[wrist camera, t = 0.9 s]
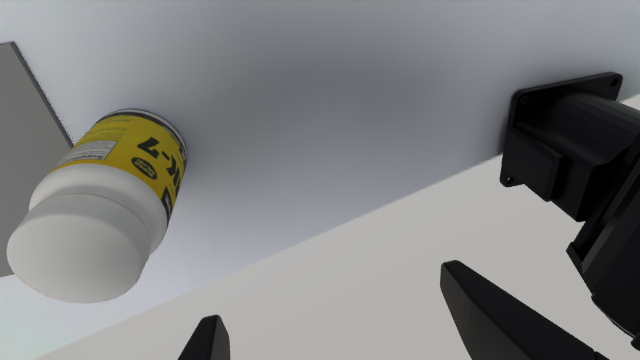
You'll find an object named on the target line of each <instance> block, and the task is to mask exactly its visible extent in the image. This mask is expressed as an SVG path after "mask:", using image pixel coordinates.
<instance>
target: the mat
mask: <svg viewBox="0 0 640 360" xmlns="http://www.w3.org/2000/svg"><path fill="white" fill-rule="evenodd" d="M72 148H73V145H72V143H71V141H70V140H69V138H68V136H67V135H66V133H65V131H64V129H63V128H62V126H61V124H60V122H59V121H58V119H57V117H56V115H55V114H54V112H53V110H52V108H51V107H50V105H49V103H48V101H47V100H46V98H45V96H44V94H43V93H42V91H41V89H40V87H39V86H38V84H37V82H36V80H35V79H34V77H33V75H32V74H31V72H30V70H29V68H28V67H27V65H26V63H25V61H24V60H23V58H22V56H21V54H20V53H19V51H18V49H17V47H16V46H15V44H14V42H9V43H4V44H0V277H3V276H8V275H13V274H15V273H14V272H13V271H12V269H11V267H10V265H9V263H8V259H7V245H8V241H9V239H10V237H11V235H12V233H13V232H14V231H15V230H16V228H17V227H18V226H19V225H20V223H21V222H22V221H23V219H24V218H25V216H26V215H27V214H28V212H29V204H30V200H31V197H32V194H33V192H34V190H35V189H36V187H37V186H38V184H39V183H40V182H41V181H42V179H43V178H44V177H45V176H46V175H47V174H48V173H49V172H50V171H51V170H52V169H53V168H54V167H55V166H56V165H57V164H58V163H59V161H60V160H61V159H62V158H63V157H64V156H65V155H66V154H67V153H68V152H69V151H70V150H71V149H72Z"/></svg>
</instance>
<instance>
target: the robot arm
mask: <svg viewBox="0 0 640 360" xmlns="http://www.w3.org/2000/svg"><path fill="white" fill-rule="evenodd" d="M622 80H623V77H622V75H620V74H618V73H615V72H610V73H605V74H600V75H595V76H590V77H585V78H579V79H574V80H569V81H564V82H559V83H554V84H549V85H544V86H539V87H534V88H529V89H524V90H520V91H518V92H517V93H516V94H515V95H514V97H513V99H512V105H511V111H510V117H509V124H508V130H507V133H506V139H505V145H504V151H503V158H502V167H501V174H500V183H501V184H502V185H503V186H505V187H512V186H517V185H522V184H525V185H526V186H528V188H530V189H531V190H532V191H533V192H535V193H536V194H537V195H538V196H539V197H541V198H542V199H543V200H544V201H546V202H549V201H552V202H553V203H554V204H555V205H557V206H558V207H559V208H561V209H562V210H563V211H564V212H565V213H567V214H568V215H569V216H571V217H572V218H573V219H574V220H575V221H576V222H583V221H585V223H584V225H583V226H582V229H581V230H580V231H579V233H578V235H577V236H576V238H575V240H574V241H573V242H571V243H570V244H569V246H568V248H567V249H566V252H567V254H568V255H569V257H570V259H571V260H572V262H573V264H574V265H575V267H576V269H577V270H578V272H579V274H580V275H581V277H582V279H583V280H584V282H585V283H586V285H587V287H588V289H589V290H590V292H591V293H592V296H591V299H592V301H593V302H594V304H595V305H596V306H597V307H598V308H599V309H600V310H601V311H602V312H603V313H604V314H605V315H606V316H607V318H609V319H610V321H611V322H612V323H613V324H614V325H616V326H617V327H618V328H619V329H621V330H622V331H623V332H624V333H626V334H627V335H629V336H631V337H632V338H634V339H633V340H632V341H631V345H632V346H633V347H634V348H635V349H637V350H639V351H640V111H639V110H637V109H634V108H631V107H629V106H626V105H624V104H622V103H619V102H617V101H616V99H617V96H618V93H619V90H620V87H621V84H622ZM611 81H612V82H611ZM523 97H525V98H524V100H523V101H522V102H521V99H522V98H523ZM508 178H510V179H509V180H508ZM440 287H441V291H442V293H443V296H444V298H445V301H446V303H447V305H448V308H449V310H450V312H451V315H452V317H453V320H454V322H455V324H456V327H457V329H458V331H459V334H460V336H461V338H462V341H463V343H464V345H465V347H466V349H467V351H468V353H469V355H470V357H471V359H472V360H609V359H608V358H606V357H605V356H603V355H602V354H600V353H599V352H597V351H596V352H594V350H593V349H592V348H591V347H589V346H588V345H586V344H585V343H583V342H582V341H580V340H579V339H577V338H575V337H574V336H573V335H571V334H569V333H568V332H566V331H565V330H563V329H562V328H560V327H559V326H557V325H556V324H554V323H553V322H551V321H550V320H548V319H547V318H545V317H544V316H542V315H541V314H539V313H538V312H536V311H535V310H533V309H531V308H530V307H528V306H527V305H525V304H524V303H522V302H521V301H519V300H518V299H516V298H515V297H513V296H512V295H510V294H509V293H507V292H506V291H504V290H502V289H501V288H500V287H498V286H496V285H495V284H493V283H492V282H490V281H489V280H487V279H486V278H484V277H483V276H481V275H480V274H478V273H477V272H475V271H474V270H472V269H471V268H469V267H468V266H466V265H464V264H463V263H461V262H460V261H457V260H453V261H449V262H444V263H443V264H442V265H441V276H440ZM178 360H230V343H229V335H228V332H227V330H226V328H225V326H224V324H223V322H222V319H221V317H220V316H219V315H212V316H208V317H204V318H203V319H202V320H201V321H200V322H199V324H198V326H197V328H196V329H195V331H194V333H193V334H192V336H191V338H190V340H189V341H188V343H187V344H186V346H185V348H184V350H183V351H182V353H181V355H180V356H179V358H178Z"/></svg>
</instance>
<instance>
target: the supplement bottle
mask: <svg viewBox="0 0 640 360" xmlns="http://www.w3.org/2000/svg"><path fill="white" fill-rule="evenodd" d="M186 163H187V152H186V148H185V145H184V142H183V140H182V138H181V137H180V135H179V134H178V133H177V131H176V130H175V129H174V128H173V127H172V126H171V125H170V124H169V123H168V122H166V121H165V120H163V119H162V118H160V117H158V116H156V115H154V114H151V113H148V112H145V111H140V110H121V111H116V112H113V113H110V114H108V115H106V116H104V117H103V118H101V119H100V120H99V121H98V122H96V123H95V125H94V126H93V127H92V128H91V129H90V130H89V131H88V132H87V133H86V134H85V135H84V136H83V137H82V138H81V139H80V140H79V141H78V142H77V143H76V144H75V145H74V147H73V148H72V149H71V150H70V151H69V152H68V153H67V154H66V155H65V156H64V157H63V158H62V159H61V160H60V161H59V163H58V164H57V165H56V166H55V167H54V168H53V169H52V170H51V171H50V172H49V173H48V174H47V175H46V176H45V177H44V178H43V179H42V181H41V182H40V183H39V184H38V186H37V187H36V189H35V190H34V192H33V194H32V197H31V200H30V204H29V212H28V214H27V215H26V216H25V218H24V219H23V221H22V222H21V223H20V225H19V226H18V227H17V228H16V230H15V231H14V232H13V233H12V235H11V237H10V239H9V241H8V245H7V259H8V263H9V265H10V267H11V269H12V271H13V272H14V273H15V275H16V276H17V277H18V278H19V279H20V280H21V281H22V282H23V283H24V284H26V285H27V286H28V287H30V288H32V289H33V290H35V291H37V292H38V293H41V294H43V295H45V296H48V297H50V298H53V299H57V300H61V301H66V302H72V303H97V302H103V301H108V300H111V299H114V298H116V297H119V296H121V295H123V294H124V293H126V292H127V291H128V290H130V289H131V288H132V287H133V286H134V285H135V284H136V282H137V281H138V279H139V277H140V275H141V273H142V270H143V268H144V266H145V264H146V262H147V260H148V258H149V255H150V254H152V253H153V252H154V251H155V250H156V249H157V247H158V246H159V245H160V243H161V242H162V240H163V238H164V235H165V233H166V231H167V227H168V224H169V220H170V218H171V214H172V211H173V208H174V204H175V201H176V198H177V195H178V191H179V188H180V184H181V181H182V178H183V175H184V171H185V168H186Z"/></svg>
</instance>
